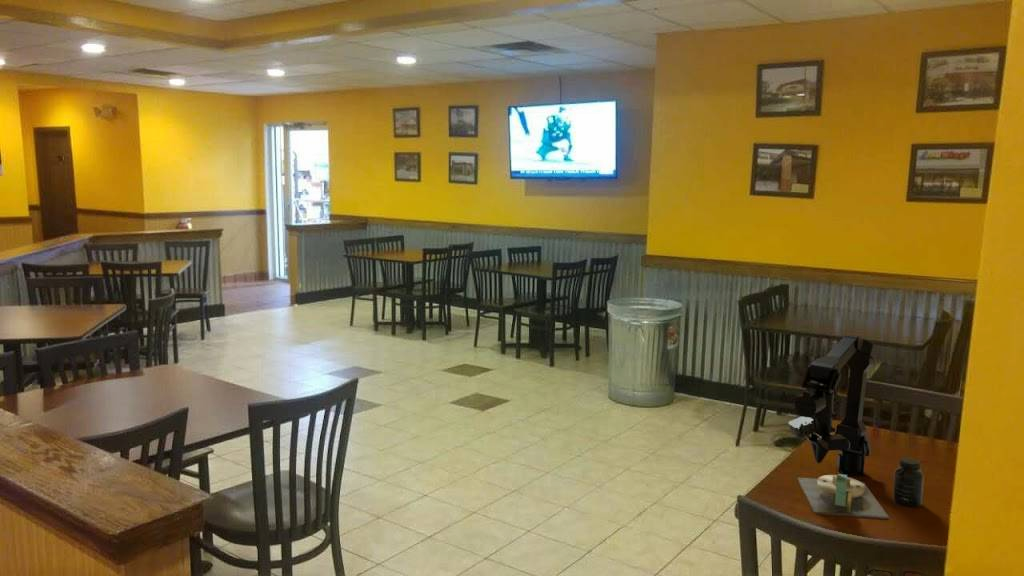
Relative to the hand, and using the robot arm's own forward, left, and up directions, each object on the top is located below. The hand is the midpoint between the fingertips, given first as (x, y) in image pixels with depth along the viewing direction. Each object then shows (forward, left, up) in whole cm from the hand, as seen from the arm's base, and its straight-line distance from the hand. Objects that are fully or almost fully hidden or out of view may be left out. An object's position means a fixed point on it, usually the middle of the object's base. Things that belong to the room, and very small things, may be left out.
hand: (818, 462), depth 200 cm
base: (-6, +1, -10) cm, 11 cm away
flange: (-5, +4, -7) cm, 9 cm away
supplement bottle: (-23, +1, -10) cm, 25 cm away
